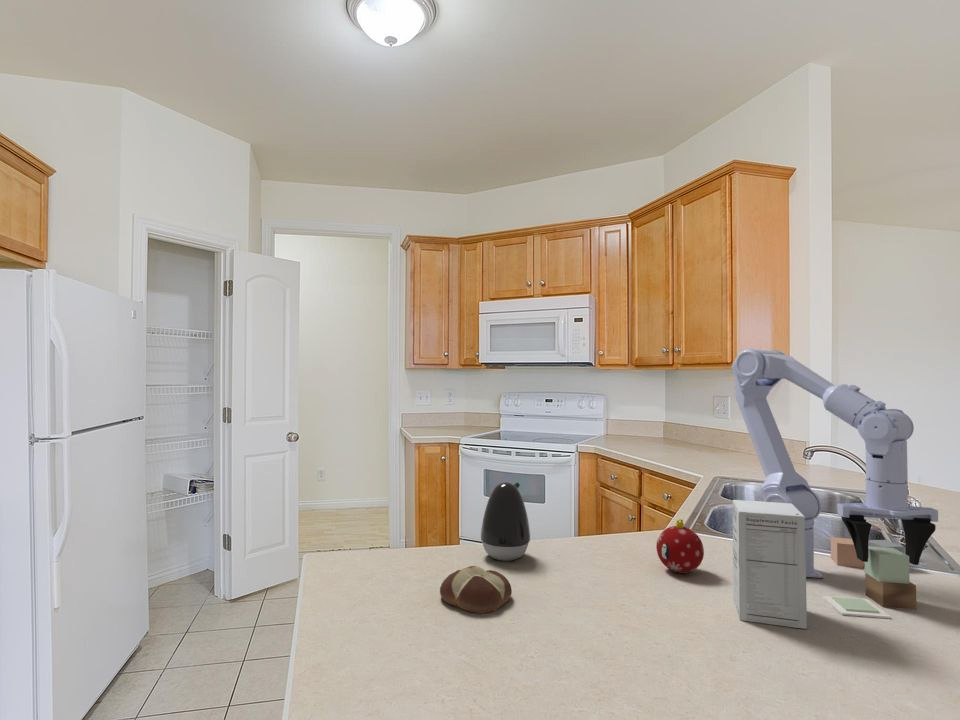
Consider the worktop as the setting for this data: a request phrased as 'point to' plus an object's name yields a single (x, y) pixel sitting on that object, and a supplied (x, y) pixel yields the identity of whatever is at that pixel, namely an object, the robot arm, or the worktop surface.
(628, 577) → the worktop surface
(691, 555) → the christmas ornament
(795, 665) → the worktop surface
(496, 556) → the black egg-shaped figure
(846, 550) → the terracotta block
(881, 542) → the slate grey block
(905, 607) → the walnut base block
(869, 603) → the swatch
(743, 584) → the supplement box
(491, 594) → the bread
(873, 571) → the sage block
